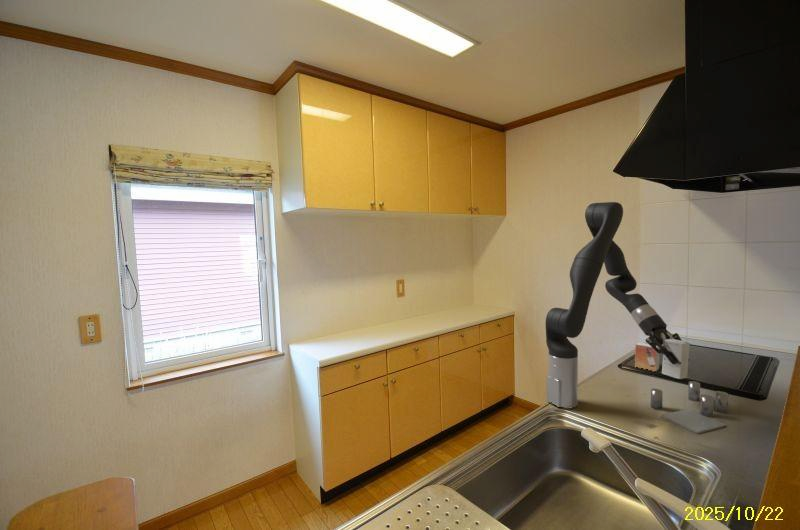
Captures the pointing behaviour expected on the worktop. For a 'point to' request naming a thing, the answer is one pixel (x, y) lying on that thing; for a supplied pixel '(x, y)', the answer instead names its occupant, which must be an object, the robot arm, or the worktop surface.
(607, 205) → the robot arm
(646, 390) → the worktop surface
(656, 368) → the small box
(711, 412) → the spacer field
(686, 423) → the slate tile
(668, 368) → the skincare box
